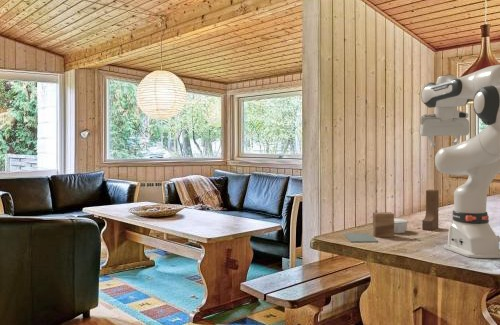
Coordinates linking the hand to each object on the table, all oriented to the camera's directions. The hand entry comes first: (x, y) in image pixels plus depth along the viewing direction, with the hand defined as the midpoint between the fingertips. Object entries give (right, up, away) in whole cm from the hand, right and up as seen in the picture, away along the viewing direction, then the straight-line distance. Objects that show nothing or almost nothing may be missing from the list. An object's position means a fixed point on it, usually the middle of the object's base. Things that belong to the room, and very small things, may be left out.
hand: (443, 146), depth 193 cm
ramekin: (-17, -39, +12) cm, 44 cm away
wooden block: (+1, -38, +17) cm, 42 cm away
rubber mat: (-36, -39, -1) cm, 53 cm away
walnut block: (-25, -39, +3) cm, 46 cm away
